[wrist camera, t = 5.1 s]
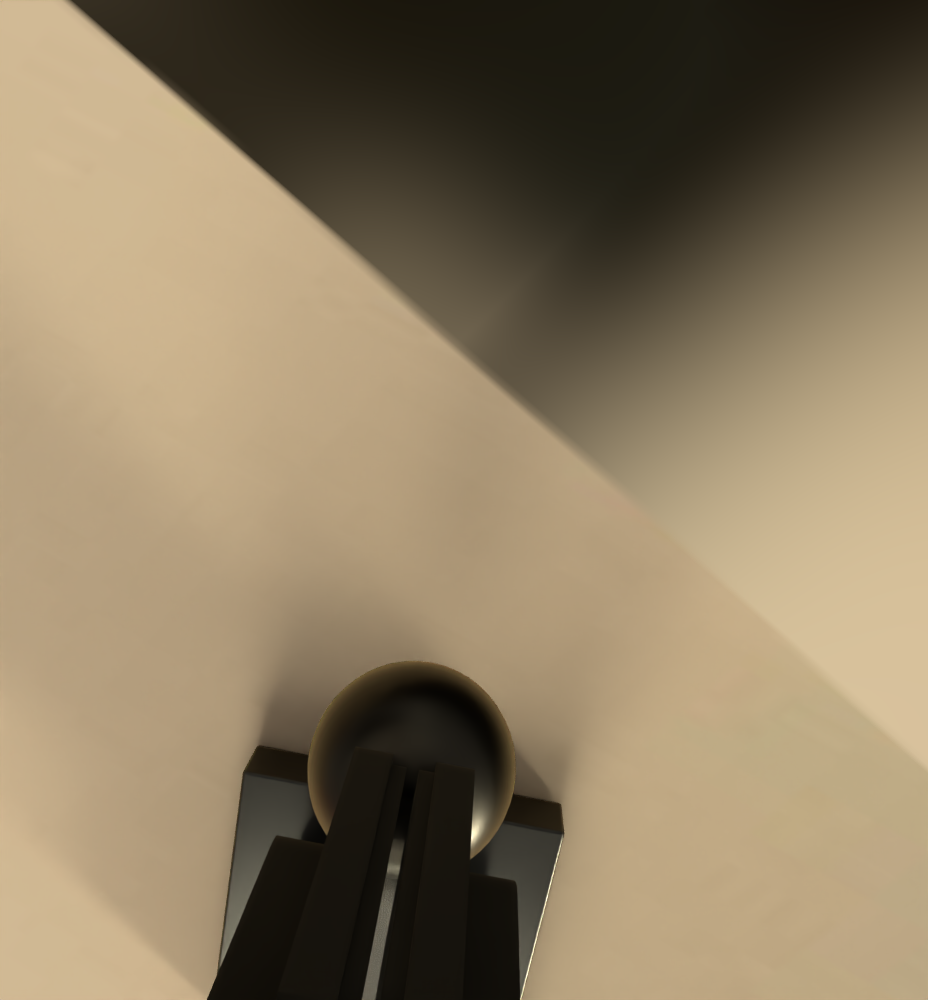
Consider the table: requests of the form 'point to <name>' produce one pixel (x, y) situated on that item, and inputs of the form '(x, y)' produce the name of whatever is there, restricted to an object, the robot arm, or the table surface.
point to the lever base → (289, 812)
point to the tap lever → (413, 755)
